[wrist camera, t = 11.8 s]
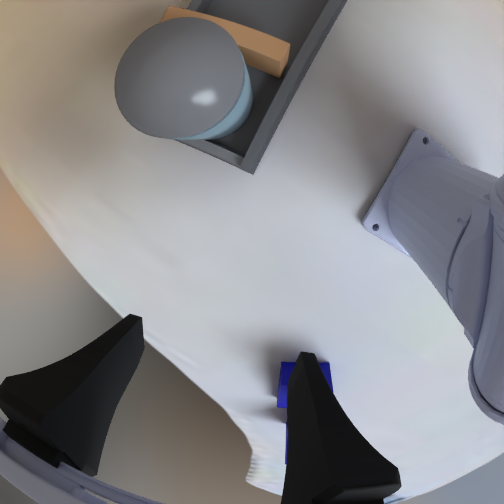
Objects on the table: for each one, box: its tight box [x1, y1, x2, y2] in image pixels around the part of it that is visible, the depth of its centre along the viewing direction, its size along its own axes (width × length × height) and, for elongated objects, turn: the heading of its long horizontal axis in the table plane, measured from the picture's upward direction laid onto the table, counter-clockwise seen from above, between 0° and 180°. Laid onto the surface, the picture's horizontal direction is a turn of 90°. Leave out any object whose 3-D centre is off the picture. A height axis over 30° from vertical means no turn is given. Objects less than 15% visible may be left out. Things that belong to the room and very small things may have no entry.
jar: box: [115, 17, 254, 140], centre depth 12 cm, size 5×5×7 cm
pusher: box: [160, 6, 290, 79], centre depth 12 cm, size 6×1×5 cm, turn 64°
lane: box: [174, 0, 347, 174], centre depth 11 cm, size 8×21×3 cm, turn 155°
